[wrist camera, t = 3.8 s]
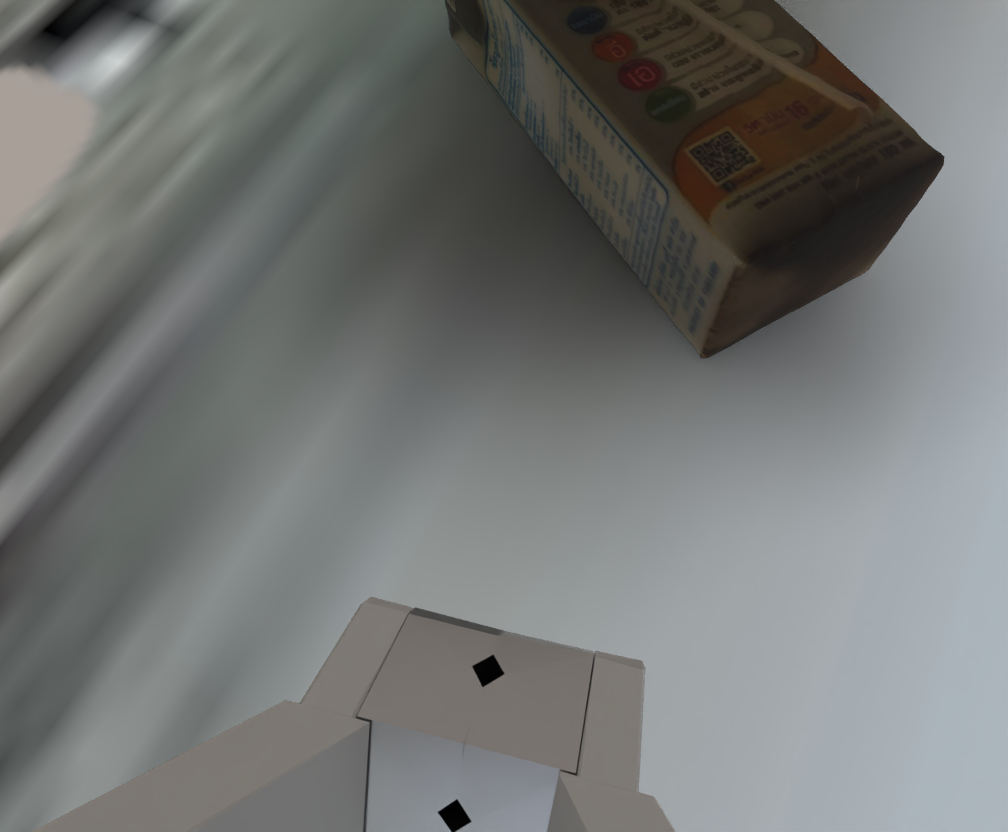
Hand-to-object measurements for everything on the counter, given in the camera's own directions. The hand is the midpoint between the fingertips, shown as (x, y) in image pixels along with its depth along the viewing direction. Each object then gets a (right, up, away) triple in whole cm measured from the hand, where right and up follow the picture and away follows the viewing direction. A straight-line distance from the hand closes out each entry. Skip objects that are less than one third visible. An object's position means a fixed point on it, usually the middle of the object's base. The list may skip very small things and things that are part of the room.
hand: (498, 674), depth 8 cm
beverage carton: (+6, +14, +23) cm, 27 cm away
